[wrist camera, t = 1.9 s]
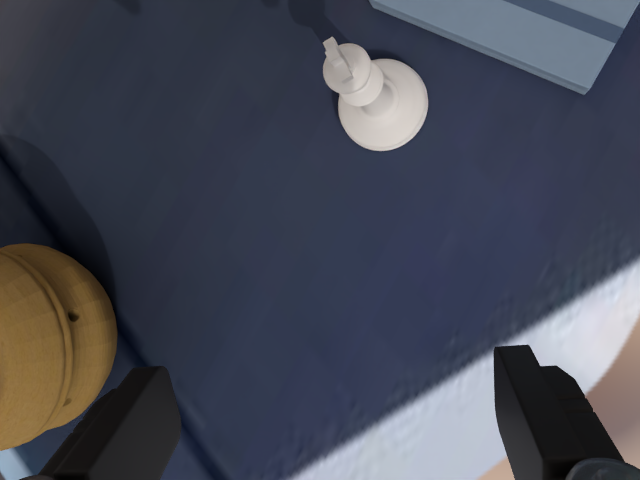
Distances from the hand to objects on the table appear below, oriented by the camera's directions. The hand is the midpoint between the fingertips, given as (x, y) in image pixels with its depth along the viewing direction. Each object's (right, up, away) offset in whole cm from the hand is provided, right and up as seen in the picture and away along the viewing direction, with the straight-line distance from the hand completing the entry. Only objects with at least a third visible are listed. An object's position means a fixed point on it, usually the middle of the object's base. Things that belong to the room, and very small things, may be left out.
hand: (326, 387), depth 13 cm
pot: (-17, -2, +24) cm, 29 cm away
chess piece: (+3, +11, +16) cm, 20 cm away
